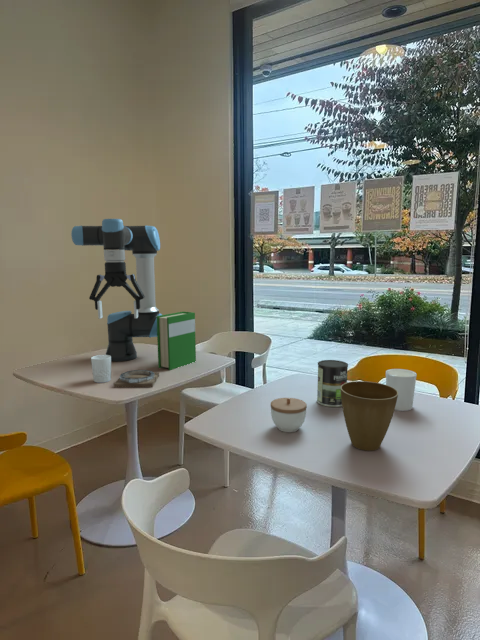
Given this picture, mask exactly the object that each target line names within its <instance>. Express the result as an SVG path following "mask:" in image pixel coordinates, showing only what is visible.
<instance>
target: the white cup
mask: <svg viewBox="0 0 480 640" xmlns="http://www.w3.org/2000/svg"><path fill="white" fill-rule="evenodd" d="M90 363H91V370H92V371H91V372H92V377H93V382H94V383H96V384H99V383H101V384H102V383H103V384H104V383H107V382H110V381H111V380H112V361H111V356H110V355H106V354H98V355H94V356H91V357H90Z"/></svg>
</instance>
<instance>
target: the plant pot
mask: <svg viewBox="0 0 480 640" xmlns="http://www.w3.org/2000/svg"><path fill="white" fill-rule="evenodd" d="M340 388H341V400H342V406H341V407H342V412H343V413H342V414H343V416H344V421H345V426H346V429H347V433H348V437H349V440H350V442H351V445H352V446H353V447H354V448H356V449H358V450H361V451H365V452H366V451H367V452H369V451H370V452H373V451H376V450H379V449H380V446H381V445H382V443H383V441H384V439H385V437H386V436H387V435H386V434H387V432H388V430H389V427H390V425H391V422H392V419H393V416H394V413H395V411H396V410H395V406H396V402H397V398H398V391H397V390H396V389H395V388H393V387H391V386H388V385H386V383H380V382H374V381H365V380H364V381H363V380H361V381H360V380H359V381H358V380H357V381H347V383H344V384H342V385H341V387H340Z"/></svg>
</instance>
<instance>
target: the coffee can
mask: <svg viewBox="0 0 480 640" xmlns="http://www.w3.org/2000/svg"><path fill="white" fill-rule="evenodd" d="M348 367H349V364H348V362H345V361H342V360H338V359H324V360H323V359H322V360H320V361H318V362H317V390H316V391H317V395H316V396H317V398H316V399H317V400H316V402H317V404H319V405H321V406H323V407H329V408H340V407H342V400H341V388H340V387H341V385H342V384H344V383H347V382H348Z"/></svg>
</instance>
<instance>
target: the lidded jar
mask: <svg viewBox="0 0 480 640" xmlns="http://www.w3.org/2000/svg"><path fill="white" fill-rule="evenodd" d="M307 407H308V404H307V403H306V401H304V400H303V399H299V398H295V397H280V398H276V399H275V398H274V399H273V400H272V401H271V402H270V415H271V419H272V422H273V424H274V425H275V426H276V428H278V429H277V430H279V431H281V432H283V433H295V432H297V431H299V429H300V428H301V427H302V426H303V424H304V423H305V419H306V417H307Z"/></svg>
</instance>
